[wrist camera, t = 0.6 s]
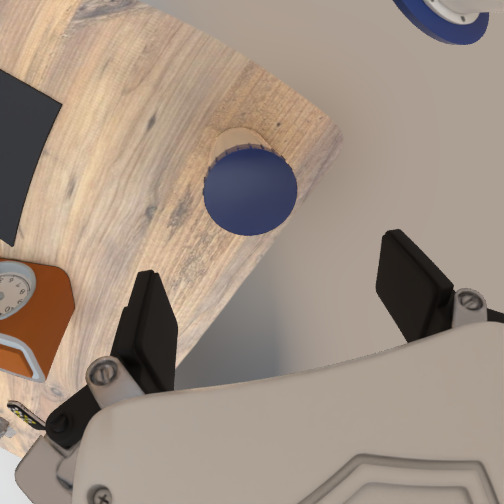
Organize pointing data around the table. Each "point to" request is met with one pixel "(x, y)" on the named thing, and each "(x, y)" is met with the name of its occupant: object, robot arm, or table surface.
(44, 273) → the alarm clock
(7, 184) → the mat
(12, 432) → the skate ramp
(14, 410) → the remote control
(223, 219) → the lid
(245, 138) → the jar
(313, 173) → the table surface
